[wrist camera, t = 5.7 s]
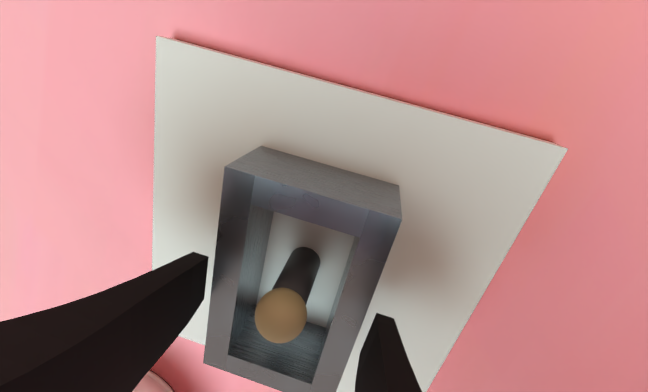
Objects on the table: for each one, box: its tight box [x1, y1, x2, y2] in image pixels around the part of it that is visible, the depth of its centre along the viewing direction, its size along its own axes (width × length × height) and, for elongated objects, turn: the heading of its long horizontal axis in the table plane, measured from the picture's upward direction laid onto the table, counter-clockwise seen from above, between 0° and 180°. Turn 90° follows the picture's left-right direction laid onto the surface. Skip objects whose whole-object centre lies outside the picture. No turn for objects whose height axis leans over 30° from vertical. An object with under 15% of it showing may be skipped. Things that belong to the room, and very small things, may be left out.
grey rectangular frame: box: [203, 146, 402, 392], centre depth 12 cm, size 9×6×3 cm, turn 167°
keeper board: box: [152, 36, 568, 392], centre depth 12 cm, size 15×15×5 cm
